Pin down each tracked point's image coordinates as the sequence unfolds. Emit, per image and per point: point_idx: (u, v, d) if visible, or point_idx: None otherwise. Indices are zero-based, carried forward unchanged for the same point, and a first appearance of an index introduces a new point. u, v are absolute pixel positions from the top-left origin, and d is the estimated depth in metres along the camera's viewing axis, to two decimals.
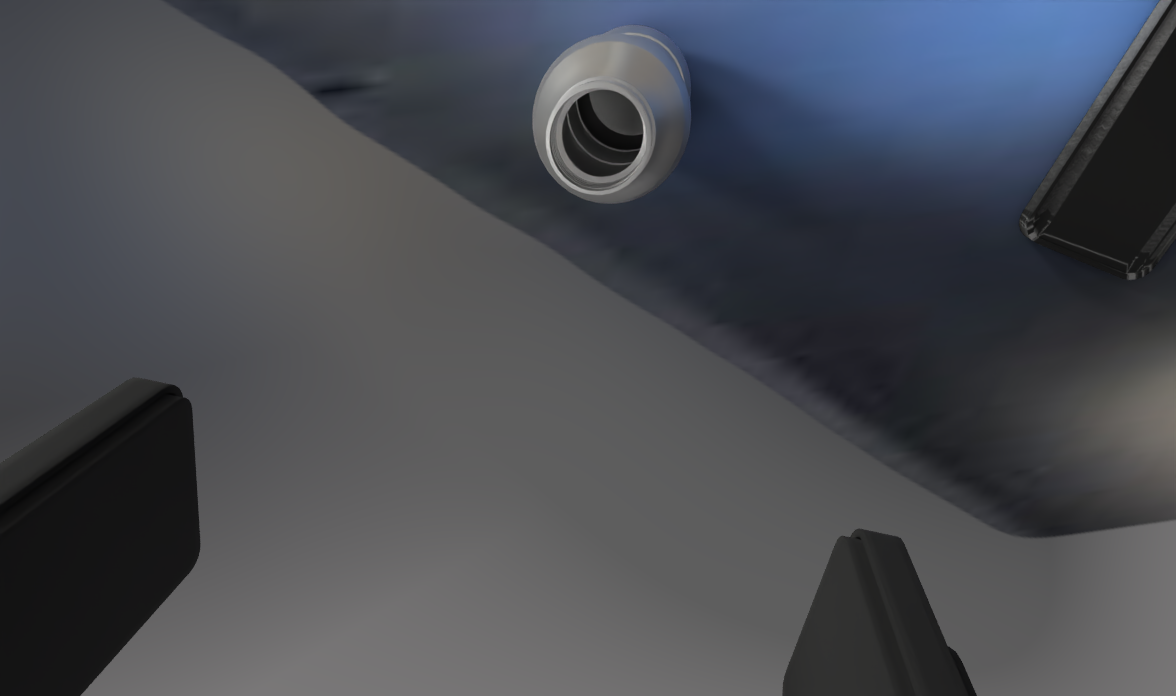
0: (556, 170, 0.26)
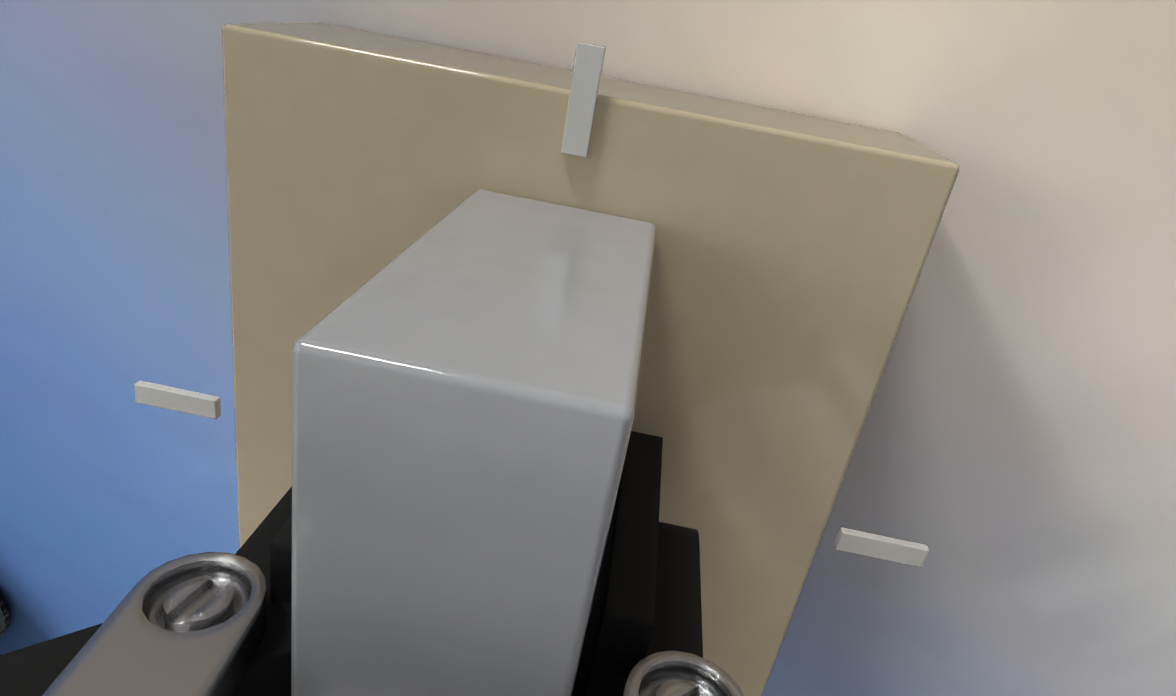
0: None
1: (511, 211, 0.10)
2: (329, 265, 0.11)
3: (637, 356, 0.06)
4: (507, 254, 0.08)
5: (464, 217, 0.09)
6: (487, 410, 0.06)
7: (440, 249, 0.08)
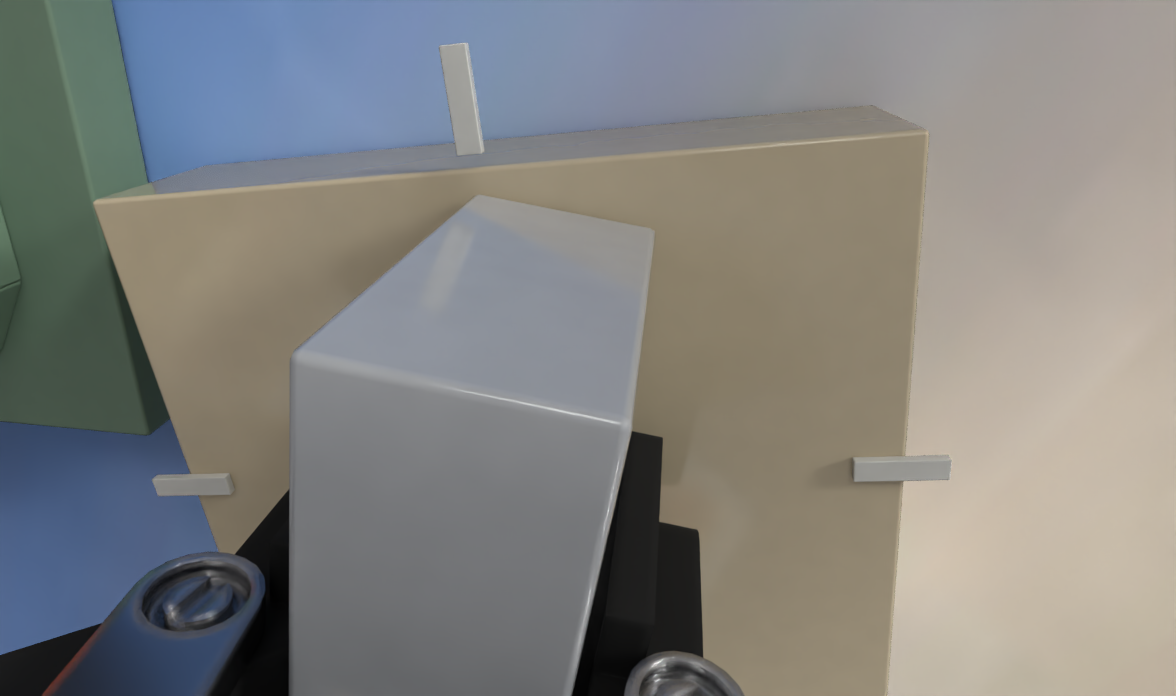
0: None
1: (510, 217, 0.10)
2: (689, 265, 0.11)
3: (636, 365, 0.06)
4: (505, 260, 0.08)
5: (462, 223, 0.09)
6: (485, 421, 0.05)
7: (438, 256, 0.08)
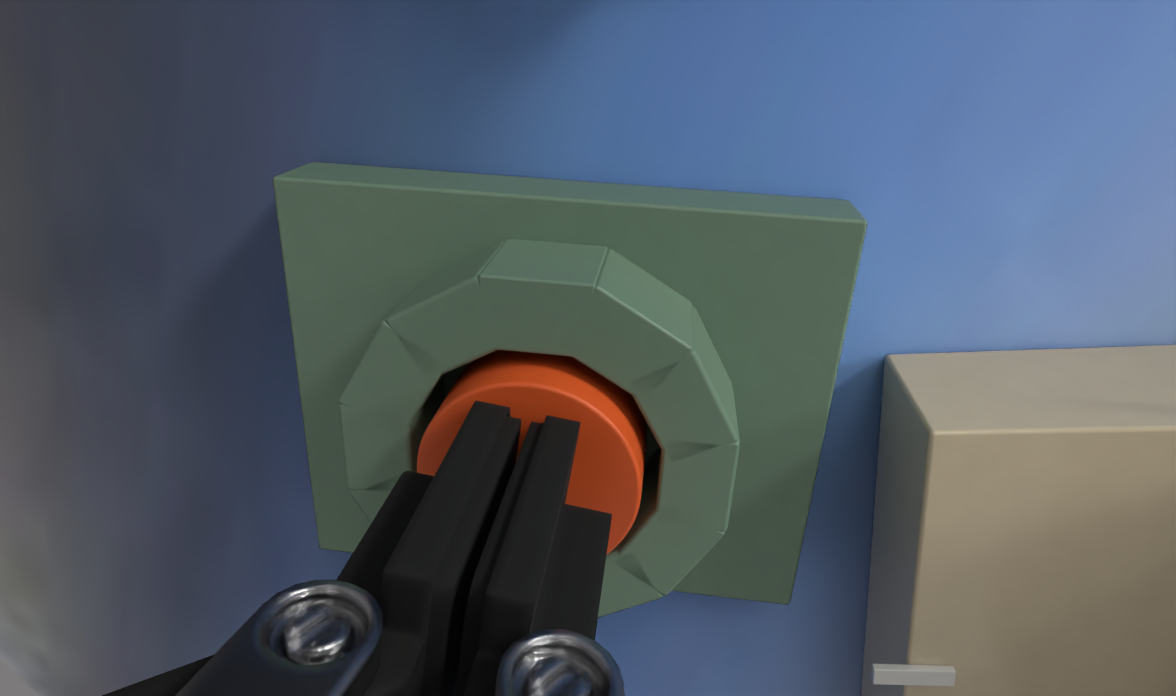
0: None
1: None
2: None
3: None
4: None
5: None
6: None
7: None
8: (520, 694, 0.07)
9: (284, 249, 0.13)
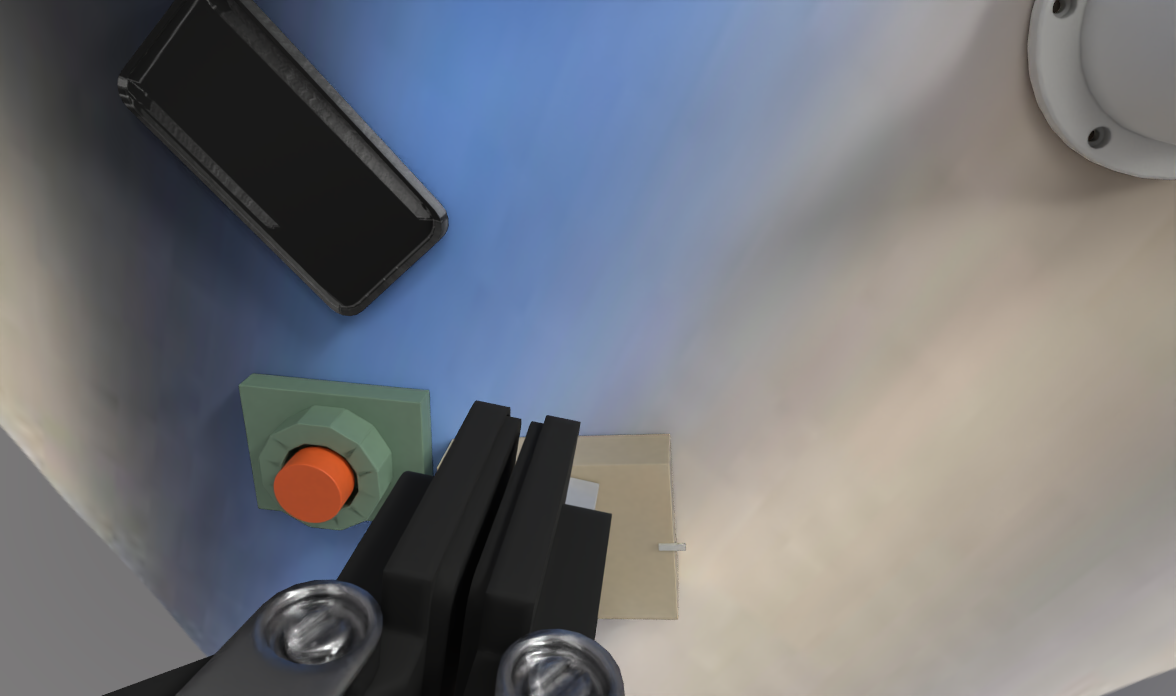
0: None
1: None
2: (609, 492, 0.38)
3: None
4: None
5: None
6: None
7: None
8: (520, 694, 0.07)
9: (242, 406, 0.40)
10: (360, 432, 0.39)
